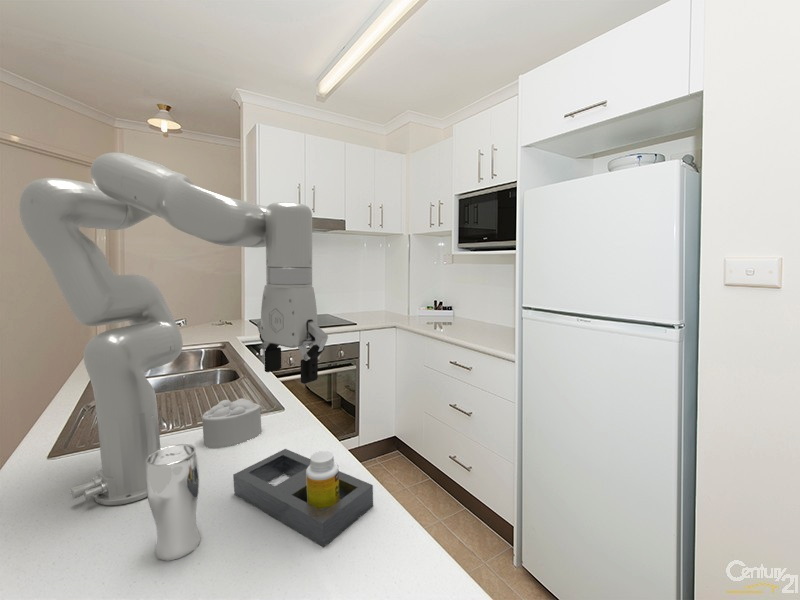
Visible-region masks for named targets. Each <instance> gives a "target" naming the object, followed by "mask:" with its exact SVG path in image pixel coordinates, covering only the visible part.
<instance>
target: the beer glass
mask: <svg viewBox="0 0 800 600" xmlns="http://www.w3.org/2000/svg"><path fill="white" fill-rule="evenodd" d="M196 448H197V447H195V446H194V445H192V444H188V443H187V444H186V443H178V444H173V445H169V446H165V447H162V448H161V449H159V450H157V451H155V452H153V453H152V454H150V455H149V456H148V457H147V458H146V490H147V497H146V498H147V500H148V505H149V507H150V511H151V514H152V517H153V521H154V523H155V527H156V528H155V529H156V544H155V545H156V546H155V556H156V558H157V559H159V560H161V561H165V560H166V561H168V560H169V561H175V560H178V559H180V558H183V557H186V556H187V555H189V554H191V553H192V552H193V551H194V550H195V549H196V548H197V547H198V546H199V545H200V543H201V533H200V529H199V526H198V524H197V507H198V501H199V500H198V499H199V493H200V471H199V464H198V457H197V450H196ZM166 561H165V562H166Z"/></svg>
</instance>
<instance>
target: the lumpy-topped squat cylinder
mask: <svg viewBox="0 0 800 600" xmlns="http://www.w3.org/2000/svg"><path fill="white" fill-rule="evenodd" d="M261 414H262V413H261V405H260V404H258V403H255V402H252V401H251V400H249V399H246V398H245V397H244V398H243V397H242V398H238V399H236V400H234V401H231V400H229V399H224V400H220V401H219V402H218V403H217V404H216V405H214V406H212V407H211V408H210V409H209V410H207V411H205V412H204V413H203V414H202V418H201V419H202V432H203V433H202V435H203V437H202V438H203V446H204V447H205V448H207V447H208V448H207V449H222V448H230V447H235V446H238V445H241V444H244V443H246V442H248V441H247V440H249V441H251V440H253V439H256V438H257V436H258V435H259V434H260V435H262V433H261V432H262V431H263V430H262V416H261ZM260 435H259V436H260ZM259 436H258V437H259ZM255 437H256V438H255ZM252 438H253V439H252ZM250 439H251V440H250ZM245 441H246V442H245ZM243 442H244V443H243ZM240 443H241V444H240ZM237 444H238V445H237Z"/></svg>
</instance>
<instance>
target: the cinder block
mask: <svg viewBox="0 0 800 600" xmlns="http://www.w3.org/2000/svg"><path fill="white" fill-rule="evenodd" d="M309 465H310V457H309V458H308V457H306V456H304V455H301V454H299V453H297V452H294V451H292V450H289V449H287V448H284V449H282V450H279V451H277V452H276V453H274V454H271V455H270V456H268V457H266V458H263V459H262V460H260V461H257V462H256V463H254V464H251V465H250V466H248V467H245V468H244V469H242V470H240V471H237V472H236V473H234V474H233V491H234V496H236V497H238V498H240V499H241V500H243V501H244V502H246V503H248V504H250V505H251V506H253V507H255V508H256V509H259V510H260V511H261V512H263V513H265V514H266V515H268V516H270V517H272V518H273V519H275V520H277V521H279V522H280V523H282V524H283V525H285V526H287V527H289V528H291V529H292V530H294V531H295V532H297V533H299V534H300V535H302V536H304V537H306V538H308V540H311V541H312V542H314V543H316V544H317V545H319V546H321V547H322V548H325V547H326V546H327V545H329V544H330V543H331V542H332V541H333V540H334V539H336V537H338V536H339V535H340V534H342V533H343V532H344V531H345V530H346V529H348V528H349V527H350V526H351V525H352V524H353V523H355V522H356V521H357V520H359V518H361V517H362V516H363V515H365V514H366V513H367V512H368V511H369V510H370V509H372V508H373V507H374V490H373V489H374V488H373V487H374V485H373V484H371V483H369V482H366V481H364V480H362V479H359V478H356V477H354V476H352V475H349V474H347V473H345V472H342V471H340V470H339V501H338V502H337V503H336V504H334V505H333V506H332V507H330V508H329V509H328V510H326V511H325V512H324V511H322V510H320V509H318V508H316V507H314V506H312V505H310V504H308V503H307V485H306V470H307V468H308V466H309ZM283 474H285V475H287V476H288V478H287V479H285V480H283V481H281V482H280V483H278V484H277V485H273V484H271V483H270V482H271V481H272V480H274V479H276V478H277V477H279V476H281V475H283Z"/></svg>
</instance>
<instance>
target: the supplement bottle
mask: <svg viewBox="0 0 800 600" xmlns="http://www.w3.org/2000/svg"><path fill="white" fill-rule="evenodd" d="M309 459H310V465H309V466H308V468H307V470H306V485H307V503H308V504H310V505H312V506H314V507H316V508H318V509H320V510H322V511H324V512H325V511H326V510H328V509H329V508H330V507H332V506H333V505H334V504H336V503H337V502H338V501H340V500H339V471H340V469H339V465H338V464H337V463H336V462H335V459H334V454H333V452H331V451H330V450H320V451H317V452H314V453H313V454H311V456H310V457H309Z"/></svg>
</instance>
